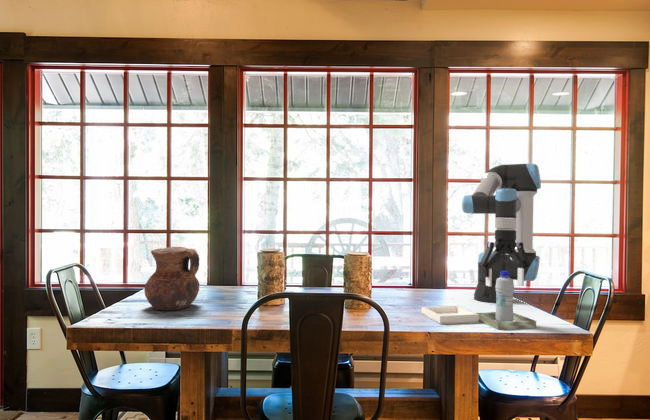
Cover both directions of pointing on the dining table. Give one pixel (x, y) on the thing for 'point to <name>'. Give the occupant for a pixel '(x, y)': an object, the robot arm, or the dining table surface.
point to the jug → (173, 278)
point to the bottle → (504, 297)
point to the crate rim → (517, 324)
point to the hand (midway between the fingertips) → (504, 285)
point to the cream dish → (450, 314)
